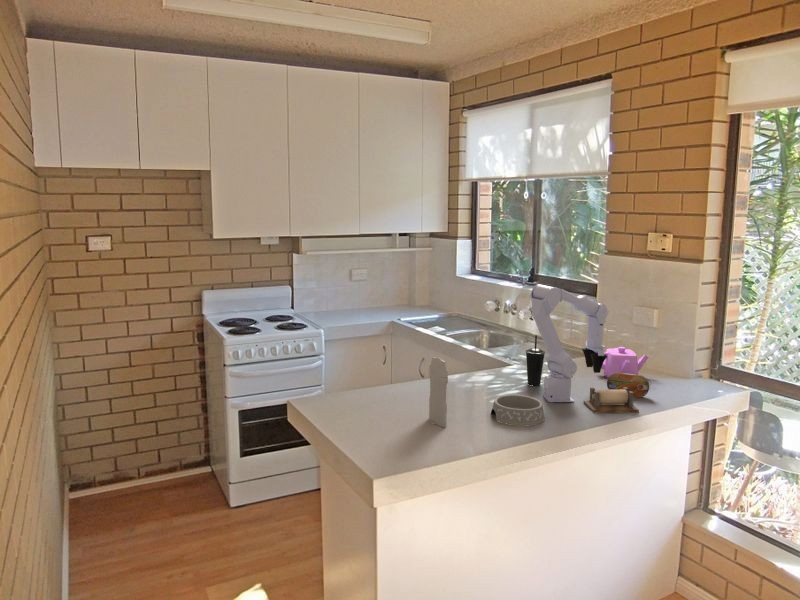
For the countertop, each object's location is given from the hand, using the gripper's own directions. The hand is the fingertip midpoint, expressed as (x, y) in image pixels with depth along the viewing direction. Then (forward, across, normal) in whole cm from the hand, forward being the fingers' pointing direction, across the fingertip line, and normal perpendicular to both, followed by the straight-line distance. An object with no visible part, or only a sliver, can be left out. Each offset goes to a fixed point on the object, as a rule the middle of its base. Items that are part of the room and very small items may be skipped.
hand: (593, 369), depth 232 cm
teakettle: (+10, +23, -21) cm, 33 cm away
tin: (+10, -2, -13) cm, 16 cm away
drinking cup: (+10, +12, +19) cm, 24 cm away
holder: (+9, -16, -1) cm, 19 cm away
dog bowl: (+10, -23, +34) cm, 42 cm away
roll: (+8, -16, -1) cm, 18 cm away
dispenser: (+10, -29, +62) cm, 69 cm away
